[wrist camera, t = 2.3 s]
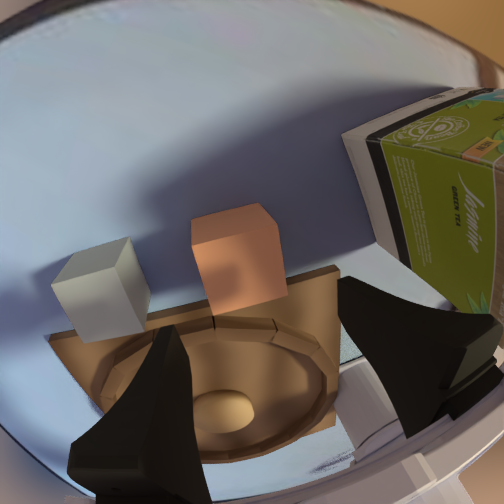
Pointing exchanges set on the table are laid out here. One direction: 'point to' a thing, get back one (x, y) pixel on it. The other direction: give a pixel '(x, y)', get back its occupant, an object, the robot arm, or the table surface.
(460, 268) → the tea box
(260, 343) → the groove tray
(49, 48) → the table surface
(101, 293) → the grey cube
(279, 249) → the orange cube
